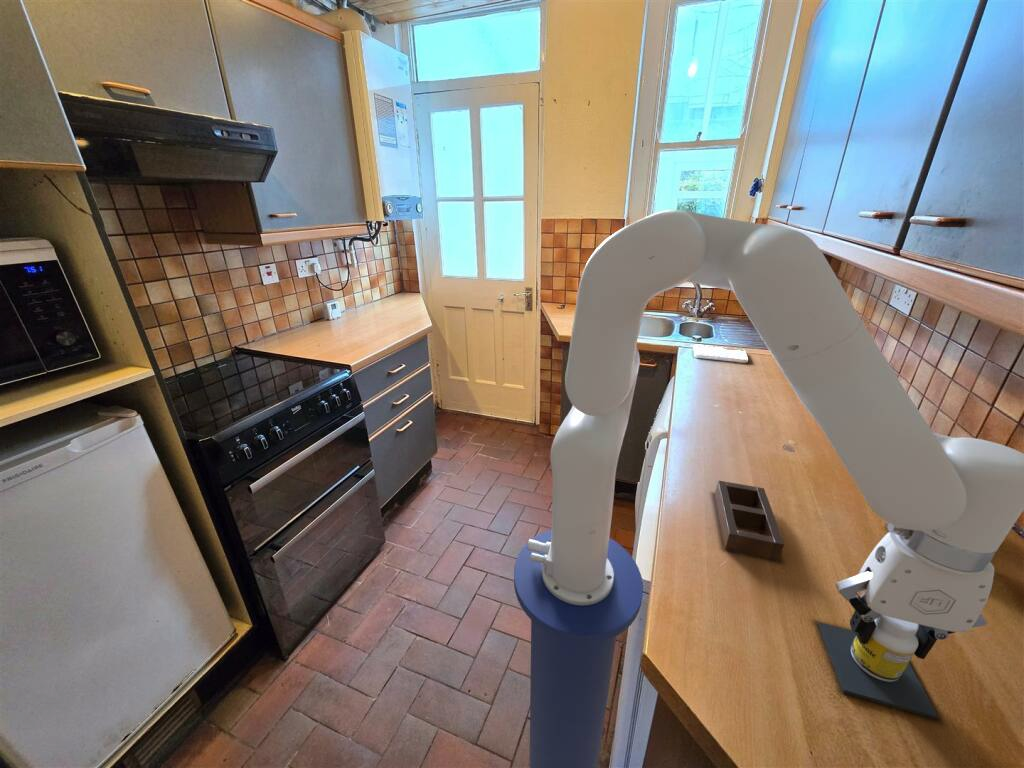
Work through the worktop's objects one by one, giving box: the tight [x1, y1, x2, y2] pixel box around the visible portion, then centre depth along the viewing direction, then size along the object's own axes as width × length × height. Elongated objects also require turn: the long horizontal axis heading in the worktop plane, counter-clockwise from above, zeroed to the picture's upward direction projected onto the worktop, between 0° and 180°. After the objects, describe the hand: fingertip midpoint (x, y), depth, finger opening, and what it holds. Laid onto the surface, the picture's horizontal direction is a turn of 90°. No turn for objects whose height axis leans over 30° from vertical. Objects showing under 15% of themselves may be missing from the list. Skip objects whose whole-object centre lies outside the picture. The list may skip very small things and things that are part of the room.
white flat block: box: [693, 344, 749, 364], centre depth 170 cm, size 13×20×2 cm, turn 69°
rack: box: [714, 480, 785, 562], centre depth 81 cm, size 9×16×4 cm, turn 162°
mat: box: [817, 622, 939, 720], centre depth 57 cm, size 10×10×1 cm
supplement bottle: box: [851, 615, 919, 682], centre depth 54 cm, size 5×5×10 cm
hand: (885, 639), depth 54 cm, fingers closed on supplement bottle, 5 cm apart
